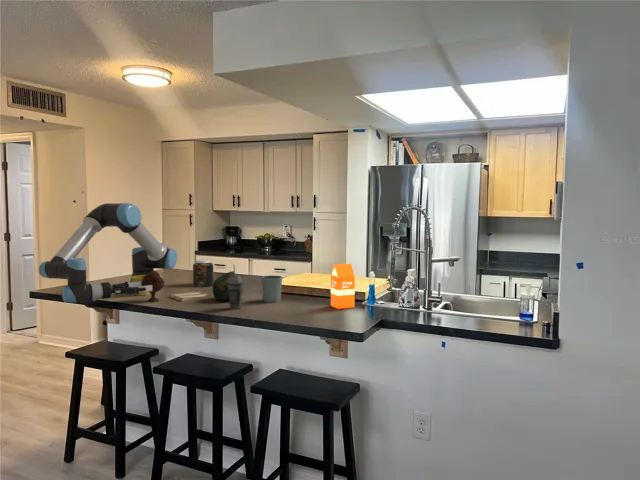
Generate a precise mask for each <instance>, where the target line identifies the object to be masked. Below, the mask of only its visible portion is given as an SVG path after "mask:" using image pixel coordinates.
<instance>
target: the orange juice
mask: <svg viewBox="0 0 640 480" xmlns="http://www.w3.org/2000/svg"><path fill="white" fill-rule="evenodd" d="M355 280H356V277H355V273H354V269H353V266H352V263H351V262H350V263H335V264H333V268H332V272H331V274H330V306H331V307H332V308H333V307H334V308H335V309H339V310H340V309H348V308H349V309H350V308H355V294H356V290H355V285H356V284H355V282H356V281H355Z"/></svg>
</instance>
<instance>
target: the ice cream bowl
mask: <svg viewBox="0 0 640 480" xmlns="http://www.w3.org/2000/svg"><path fill="white" fill-rule="evenodd" d="M141 285H142V286H148V285H152V291H148V292H149V293H150V295H151V296H150V298H149V299H147V302H148V303H157V302H160V299H158V298H157V297H156V293H158V292H159V291H161V290H162V289H163V287H164V285H165V281H164V279H163V278H162V277H161V275H160V273H159V272H158V271H157V270H154V271H151V272H150V273H149V274H147V275H145V276H144V277H143V279H142V282H141Z"/></svg>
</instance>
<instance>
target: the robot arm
mask: <svg viewBox="0 0 640 480" xmlns="http://www.w3.org/2000/svg"><path fill="white" fill-rule="evenodd" d="M107 227H115V228H118V229H119V230H120V231H121V232H122V233H123V234H128V235H129V236H130V237H131V238H132V239H133V240H134V241H135V242H136V244H138V246H140V247H137V246H136V247H133V248H132V250H131V264H132V268H131V269H132V270H131V272H132V273H131V277H130V280H129V281H124V282H121V283H115V284H111V282H109V281H105V282H100V283H99V282H93V283H87V264H86V259H85V258H83V257H78V255H79V254H80V253H81V252H82V251H83V249H84V248H85V247H86V246H87V245H88V243H89V242H90V241H91V240H92V238H93V237H94V236H95V235H96V234H97V233H99V232H101V231H102V230H103V229H104V228H107ZM177 261H178V253H177V251H176V249H174V248H171V247H170V248H168V247H167V245H166V244H165V243H164V242H163V243H162V242H160V241H158V239H157V238H156V237H155V236H154V235H153V234H152V232H151V231H150V230H149V229H148V228H147V227H146V226H145V225H144V224H143V223H142V213H141V210H140V208H139V207H138V206H137V205H135V204H134V203H129V202H128V203H127V202H122V203H118V202H117V203H109V202H108V203H107V202H105V203H103V204H100V205H98V206H96V207H95V208H94V209H92V210H91V211H90V212H89V213H88V214H87V215H86V216H85V217H84V218H83V219H82V223H81V225H79V227H78V228H77V229H76V230H75V231H74V233H73V234H72V235H71V236H70V237H69V238H68V240H66V242H65V243H64V244H63V245H62V247H61V248H60V249H59V250H58V251H57V252H56V253H55V255H54V256H53V257H52V258H51V259H50V260H46V261H42V262H41V263H40V264H39V267H38V273H39V275H40V277H42V278H44V279H50V280H51V279H57V280H58V279H59V280H60V279H61V280H67V285H65V286H63V287H61V290H62V291H61V296H62V300H63V302H64V303H69V304H70V303H80V302H87V301H88V302H90V301H93V302H96V300H106V299H110V298H111V297H112V295H113V294H114V295H128V294H129V295H132V294H133V295H134V294H135V295H136V293H137V294H139V292H148V291H152V285H148V286H142V285H141V282H132V277H133V276H139V275H147V274H149V273H150V272H151V271H155V270H156V269H157V270H158V269H159V270H160V269H161V270H172V269H174V268H175V266H176V264H177ZM135 290H136V291H135Z"/></svg>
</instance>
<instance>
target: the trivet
mask: <svg viewBox="0 0 640 480" xmlns="http://www.w3.org/2000/svg"><path fill="white" fill-rule="evenodd" d="M169 298H172V299H174V300H178V301H179V302H188V301H195V300H204V299H210V298H211V295H210V294H209V293H204V292H202V291H199V290H195V291H190V292H188V291H187V292H182V293H170V294H169Z"/></svg>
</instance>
